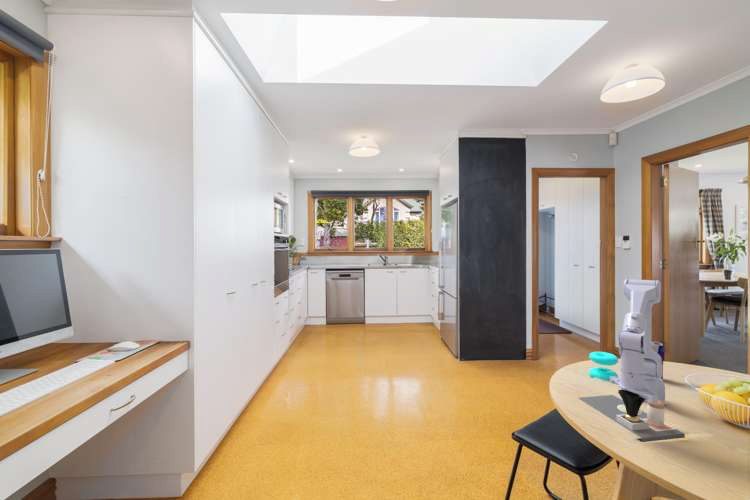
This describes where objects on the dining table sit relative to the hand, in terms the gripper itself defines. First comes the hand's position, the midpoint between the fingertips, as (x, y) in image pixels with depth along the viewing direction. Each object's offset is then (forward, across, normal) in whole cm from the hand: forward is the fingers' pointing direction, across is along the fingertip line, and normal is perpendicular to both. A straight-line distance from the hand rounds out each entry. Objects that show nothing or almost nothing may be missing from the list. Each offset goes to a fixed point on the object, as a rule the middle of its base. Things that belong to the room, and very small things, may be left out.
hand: (632, 415), depth 102 cm
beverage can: (+4, -31, +42) cm, 52 cm away
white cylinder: (+3, +1, +7) cm, 7 cm away
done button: (+2, 0, 0) cm, 2 cm away
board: (+4, -6, +4) cm, 8 cm away
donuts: (+4, -35, +22) cm, 41 cm away
